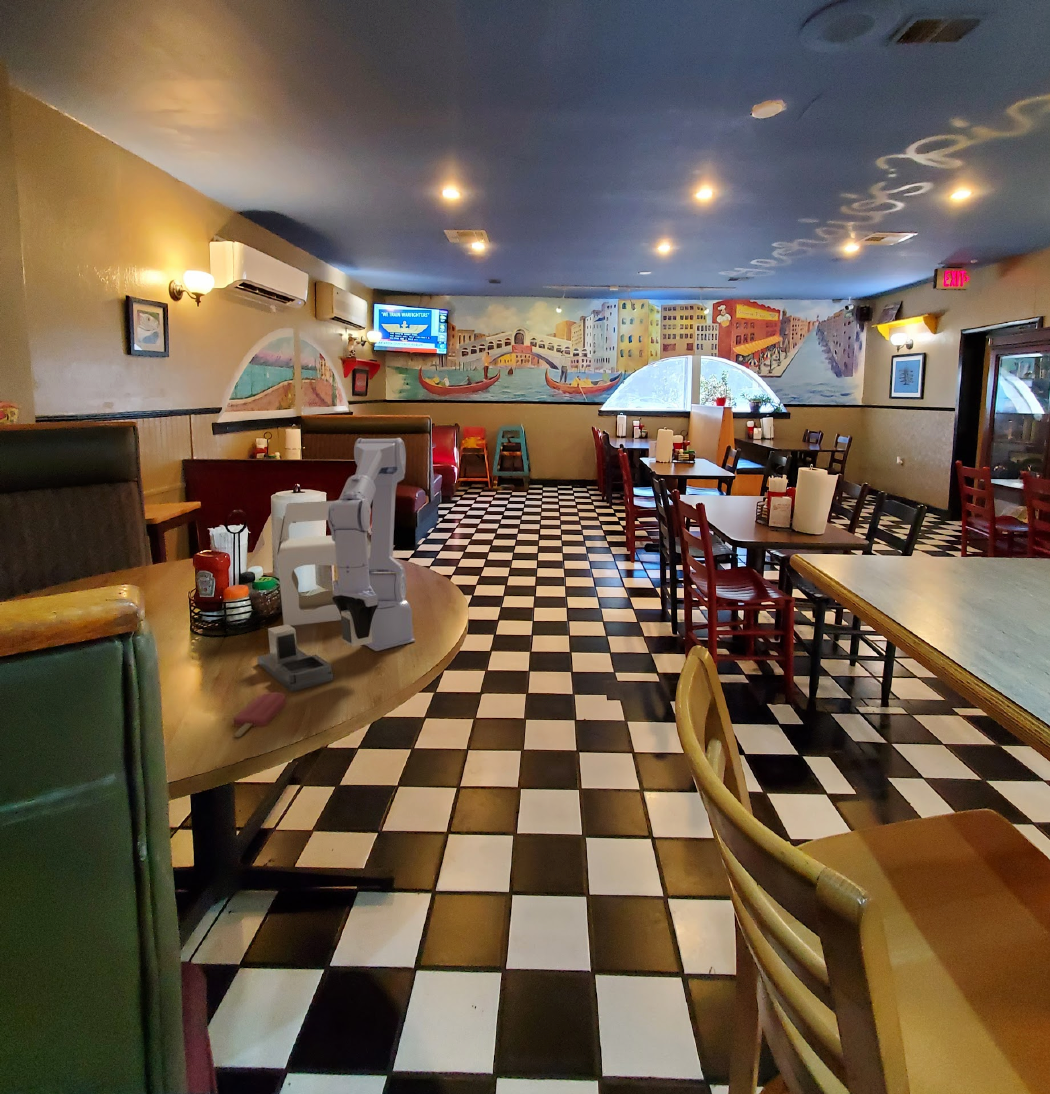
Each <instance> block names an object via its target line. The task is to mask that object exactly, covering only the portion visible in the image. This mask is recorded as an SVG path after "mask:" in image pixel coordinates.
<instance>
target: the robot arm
mask: <svg viewBox="0 0 1050 1094" xmlns="http://www.w3.org/2000/svg"><path fill="white" fill-rule="evenodd" d="M405 445H406V444H405V442H404V440H402V438H401V437H396V438H362V437H360V438H358V439H356V440H355V443H354V446H353V447H354V448H353V456H354V457H353V458H354V461H355V464H356V465H357V467H356V471H355V474H354V475H350V476H349V477H348V478H347V480H346V482H345V484H344V487H343V489H342V492H341V494H340V496H339V497H338V499H337V500H334V501H335V502H334V503H331V504H330V506H329V510H328V520H327V523H328V527H329V529H330V533H331V535H332V540H333V541H334V542H335V550H336V563H337V565H336V572H337V573H336V575H337V576H336V577H337V579H335V580H332V587H333V588H332V589H333V594H334V595H336V596H334V597H333V598H332V600H333V601H334V603H335V604H336V606H337V608H338V610H339V612H340V614H341V611H345V610H349V611H350V613H351V616H352V619H353V623H354V628H355V633H356V636H357V638H358V639H362V638H366V637H369V633H370V627H371V628H372V642H371V643H367V644H363V645H364V646H366V647H368V648H370V649H371V650H373V651H375V652H379V651H383V650H387V649H391V648H394V647H398V646H403V645H405V644H409V643H413V642H415V640H416V639H415V638H414V632H413V627H414V626H413V612H412V608H411V606H410V603H409V602H408V601H407V600H406V599H405V598H406V593H407V579H406V570H405V567H404V566H403V565H402V564H401V563H400V562H398V560H396V559H395V558H394V557H393V555H394V536H395V535H394V530H395V514H396V513H395V511H396V492H397V486H398V483H400V482H401V481H402V480H404V479H405V474H406V461H407V459H406V458H407V452H406V446H405ZM371 506H372V509H371ZM370 522H371V523H370ZM369 524H371V528H370V529H371V533H370V538H371V549H370V558H369V559H368V549H367V533H366V531H367V530H368V528H369ZM373 572H375V573H373Z"/></svg>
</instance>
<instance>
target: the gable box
mask: <svg viewBox="0 0 1050 1094" xmlns="http://www.w3.org/2000/svg"><path fill="white" fill-rule="evenodd" d="M335 501H336V500H327V501H326V500H325V501H322V500H321V501H308V502H304V501H303V502H289V503H288V504H286V506H285V512H284V515H283V517H282V518H281V517H278V516H277V517H275V526H274V527H275V531H274V533H275V541H277V546H276V547H277V548H276V549H277V551H276V556H277V567H278V578H279V588H280V590H279V591H280V600H281V609H282V610H281V612H282V622H283V625H287V624H288V625H290V626H291V627H293V626H300V625H310V624H311V625H312V624H319V623H327V622H335V621H337V622H338V621H341V614H340V612H339V610H338V608H337V606H336V604H335V603H334V601H333V600H332V598H333V597H334V596H336V595H334V594H333V590H334V589H333V590H323V591H320V592H317V593H314V594H309V595H302V594H300V592H299V584H300V583H299V579H298V576H297V573H296V572H295V570H296V569H297V568H299V567H303V566H311V565H313V566H314V565H315V566H317V565H318V566H337V563H336V550H335V542H334V541H333V540H332V534H331V535H321V536H306V537H292V538H291V537H290V531H289V528H290V527H289V526H290V525H291V524H297V523H300V522H301V523H302V522H305V523H306V522H318V521H328V510H329V506H330V504H331V503H334V502H335ZM370 524H371V523H370ZM370 524H369V528H368V530H367V531H366V533H367V549H368V559H369V558H370V549H371V535H370V534H371V529H372V528H371V525H370ZM373 573H376V572H373Z"/></svg>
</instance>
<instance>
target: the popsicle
mask: <svg viewBox="0 0 1050 1094" xmlns="http://www.w3.org/2000/svg"><path fill="white" fill-rule="evenodd" d="M286 703H287V696H286V694H285V693H282V692H275V691H274V692H268V693H267V692H266V693H263V694H261V695H259V696H257V697H256V699H254V700H253V701H251V703H249V704H248V705H247V706H246V707H245V708H244V709H243V710H241V712H239V714H238V715H237V716H235V717H234V718H233V726H234V727H235V726H236V727H240V728H239V729H238V730H237V731H236V732H235V733H234V734H233V735H234V738H240V737H242V736H243V735H244V734H245V733H246V732H247V730H249V729H250V728H251V727H266V726H268V724H269V723H270V722H271V721H272V720H273V719H274V717H276V715H278V713H279V712H280V711H281V710H282V708H283V707H285V705H286Z"/></svg>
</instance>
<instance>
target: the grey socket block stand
mask: <svg viewBox="0 0 1050 1094" xmlns="http://www.w3.org/2000/svg"><path fill="white" fill-rule="evenodd" d="M296 631H297V630H296V628H294V627H293V626H290V625H288V624H287V625H284V624H283V625H279V626H274V627H269V628H267V632H268V633H267V635H268V642H269V643H268V644H269V653H268V654H263V655H259V656H256V657H257V658H256V659H257V665H259V666H260V667H261V668H262V669H263V670H264V671H265V672H267V673H268V674H269V675H271V676H272V678H273V679H275V680H276V681H277V682H279V683H280V685H282V686H283V687H284V688H286V689H287V690H288V691H289V692H290V693H293V692H297V691H300V690H305V689H308V688H311V687H315V686H319V685H323V684H326V683H329V682H333V681H334V674H333V672H332V664H331V663H329V662H328V661H326V660H325V659H324V658H322V657H320V656H319V655H317V654H314V655H313V654H312V655H311V654H310V655H309V654H306V653H305V652H304V651H302V650H300V649H299V648H298V645H297V644H298V643H297V635H296V634H297V633H296Z"/></svg>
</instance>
